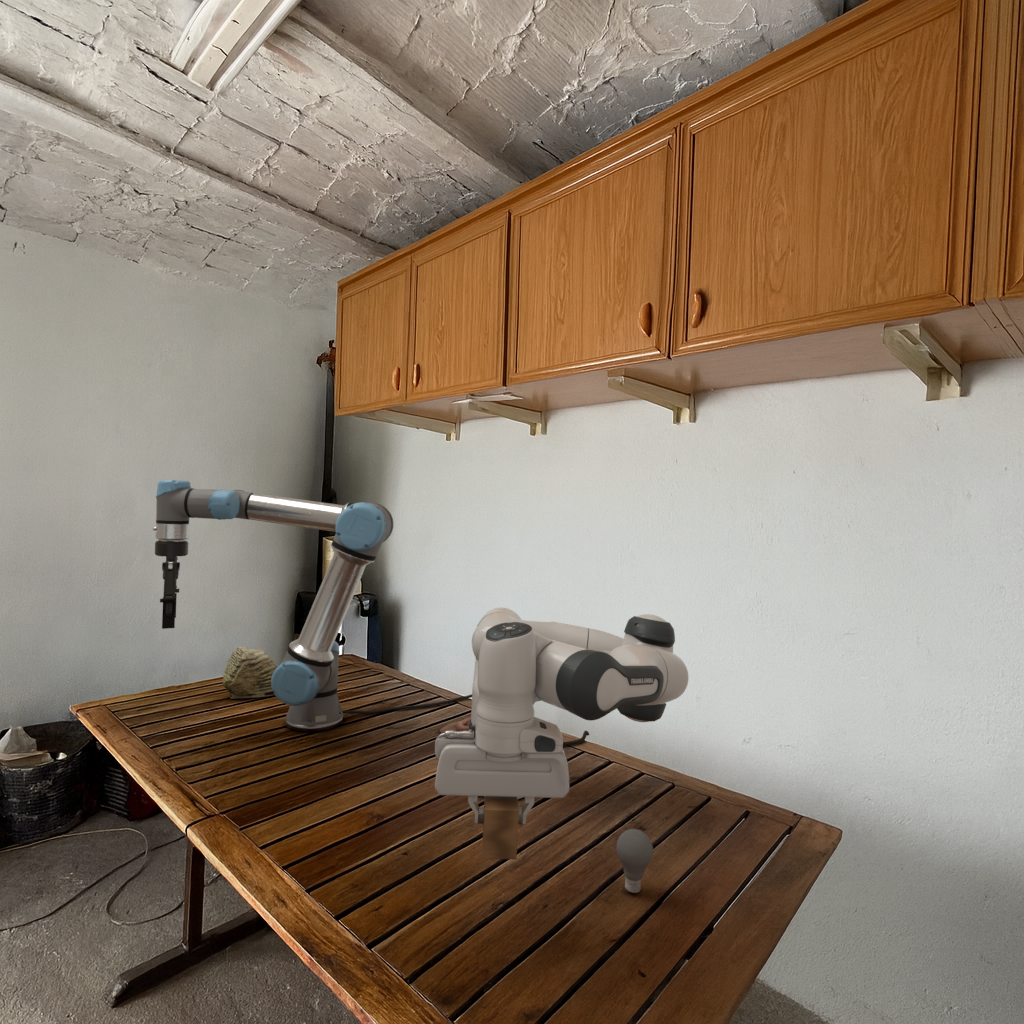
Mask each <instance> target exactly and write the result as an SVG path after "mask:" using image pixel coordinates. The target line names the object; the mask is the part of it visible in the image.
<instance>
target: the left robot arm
mask: <svg viewBox="0 0 1024 1024" xmlns="http://www.w3.org/2000/svg"><path fill="white" fill-rule="evenodd" d="M155 499H156V510H155V511H156V517H155V519H156V520H155V525H156V526H153V527H152V531H155V539H156V541H155V542H154V555H155V556H158V557H166V558H165V561H163V562H162V564H161V571H162V579H163V595H162V598H159V603H162V613H161V615H162V617H161V629H163V630H165V629H166V630H167V629H175V628H176V627H175V624H176V618H177V595H178V594H177V593H180V588H178V586H177V580H178V579H179V571H180V569H181V562H180V561H178V560H179V558H178V557H186V556H188V554H189V542H188V539H189V538H190V519H210V520H211V519H212V520H220V521H222V520H233V519H241V520H248V521H249V520H250V521H257V522H264V523H272V524H279V525H284V526H285V525H286V526H291V527H292V526H293V527H299V528H304V529H305V528H306V529H311V530H313V529H314V530H320V531H325V532H326V531H327V532H333V533H335V535H334V537H333V538H332V542H331V544H330V547H331V549H332V552H333V555H332V558H331V560H330V562H329V564H328V567H327V569H326V572H325V574H324V576H323V579H322V581H321V584H320V586H319V588H318V591H317V594H316V595H315V599H314V601H313V603H312V605H311V608H310V610H309V613H308V615H307V618H306V620H305V623H304V625H303V627H302V630H301V631H300V634H299V636H298V638H297V639H295V640H293V641H291V642H290V643H289V644H288V647H287V649H286V652H285V654H284V657H283V659H282V661H281V663H279V664H278V665H277V666H276V669H275V671H274V672H273V675H272V678H271V687H272V690H273V692H274V694H275V695H274V696H275V697H276V698H277V700H279V701H280V702H281V703H283V704H284V705H287V706H289V708H288V711H287V713H286V715H285V726H286V728H287V729H289V730H291V731H294V732H295V731H296V732H301V733H316V732H325V731H329V730H332V729H335V728H337V727H339V726H340V725H342V723H343V722H344V714H349V715H350V714H351V715H352V714H353V715H355V714H357V715H358V714H359V715H372V714H373V715H374V714H380V713H386V712H390V711H398V710H399V711H400V710H409V709H412V710H413V709H422V708H429V707H435V706H442V705H446V704H450V703H454V702H458V701H463V700H467V699H472V693H471V694H468V695H465V696H460V697H455V698H451V699H448V700H444V701H443V700H442V701H437V702H431V703H425V704H417V705H416V704H415V705H402V706H401V705H400V706H393V707H387V708H381V709H377V710H376V709H375V710H347V709H346V710H344V709H342V706H341V702H340V699H339V695H338V682H339V662H340V661H339V660H340V659H339V657H340V645H339V643H338V642H337V641H336V638H337V636H338V633H339V631H340V629H341V627H342V624H343V622H344V619H345V617H346V615H347V613H348V610H349V608H350V605H351V604H352V603H351V602H352V600H353V598H354V596H355V593H356V590H357V588H358V586H359V584H360V581H361V579H362V577H363V574H364V572H365V569H366V566H368V565H370V564H373V563H374V562H375V560H376V558H377V556H378V553H379V551H380V549H381V546H382V544H383V543H384V542H386V541H387V540H388V539H389V538H390V537H391V536H392V533H393V530H394V518H393V515H392V513H391V512H390V511H389V510H388V508H386V507H385V505H382V504H380V503H378V502H367V501H361V502H347V503H345V504H336V503H330V502H324V501H323V502H322V501H315V500H309V499H302V498H294V497H286V496H280V495H272V494H264V493H259V492H250V491H245V490H243V489H233V490H232V489H211V488H194V487H193V488H192V486H191V482H190V481H189V480H182V479H181V480H179V479H178V480H177V479H161V480H159V481H158V483H157V489H156V496H155Z"/></svg>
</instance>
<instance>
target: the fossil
mask: <svg viewBox="0 0 1024 1024" xmlns="http://www.w3.org/2000/svg"><path fill="white" fill-rule="evenodd" d="M276 667H277V665H276V663H275V662H274V660H273V659H272V658H271V657H270V656H269V655H268V654H267V653H266V652H265V650H264V649H263V648H260V647H258V648H251V647H247V646H246V647H245V646H238V647H237V648H236V649H235V650H233V651H232V653H231V656H230V657H229V659H228V660H227V663H226V666H225V668H224V671H223V675H222V676H223V677H222V685H223V687H224V688H225V690H226V691H228V693H229V698H230V699H250V698H264V697H271V696H275V694H274V692H273V690H272V687H271V678H272V675H273V672H274V671H275V669H276Z"/></svg>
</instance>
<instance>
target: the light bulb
mask: <svg viewBox="0 0 1024 1024" xmlns="http://www.w3.org/2000/svg"><path fill="white" fill-rule="evenodd" d="M615 849H616V854H617V857H618V859H619V861H620V863H621V865H622V867H623V873H624V874H623V875H624V876H625V878H624V888H625V890H627V891H628V892H630V893H634V894H635V893H639V892H640V891H641V889H642V887H641V886H642V879H643V877H644V875H645V871H646V868H647V867H648V866H649V864H650V863H651V861H652V859H653V855H654V847H653V843H652V841H651V838H649V836H648V835H647V834H646V833H645V832H643V831H642V830H641V829H636V828H629V829H627V830H625V831H623V832H622V833H621V834H620V835H619V837H618V839H617V841H616V847H615Z"/></svg>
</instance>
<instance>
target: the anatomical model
mask: <svg viewBox="0 0 1024 1024" xmlns="http://www.w3.org/2000/svg"><path fill="white" fill-rule="evenodd" d="M470 719H471V716H470V717H467V718H464V719H461V720H458V721H456V722H451V723H448V724H446V725H444V726H442V727H441V728H440V729H439V733H440V734H442V733H445V731H448V730H453V731H468V730H469V720H470Z"/></svg>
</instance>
